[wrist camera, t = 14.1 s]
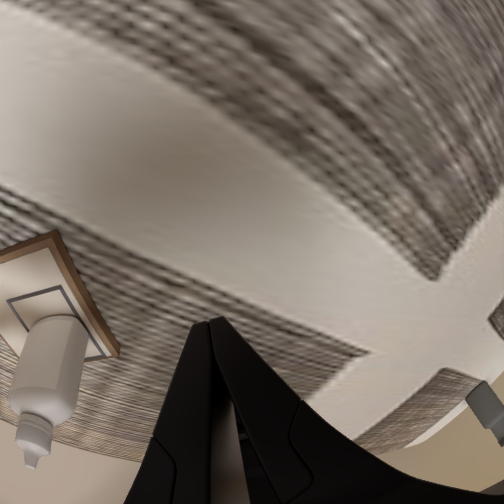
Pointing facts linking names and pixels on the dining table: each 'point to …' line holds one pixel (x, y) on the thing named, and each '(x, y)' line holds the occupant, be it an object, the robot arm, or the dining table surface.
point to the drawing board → (47, 295)
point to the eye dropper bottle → (47, 382)
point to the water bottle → (488, 409)
